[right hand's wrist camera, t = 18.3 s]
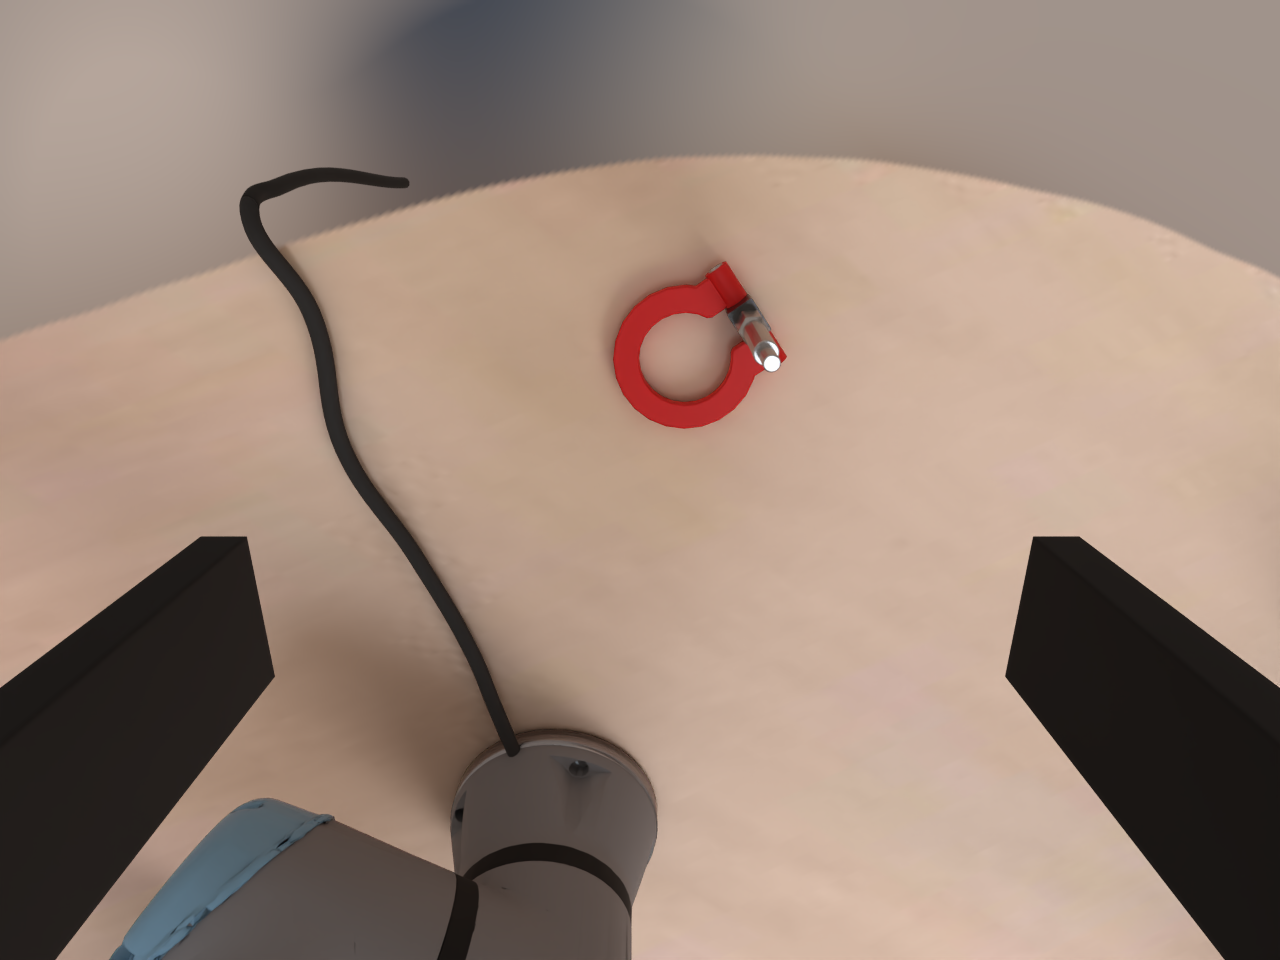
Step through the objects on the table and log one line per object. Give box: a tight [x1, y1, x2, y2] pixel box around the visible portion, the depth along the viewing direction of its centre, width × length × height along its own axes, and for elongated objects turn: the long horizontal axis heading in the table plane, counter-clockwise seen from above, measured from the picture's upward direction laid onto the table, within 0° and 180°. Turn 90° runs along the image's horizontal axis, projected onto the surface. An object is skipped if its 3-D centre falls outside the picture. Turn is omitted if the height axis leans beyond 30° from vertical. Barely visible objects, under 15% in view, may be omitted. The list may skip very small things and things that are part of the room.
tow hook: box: [613, 261, 787, 429], centre depth 39 cm, size 8×13×9 cm
